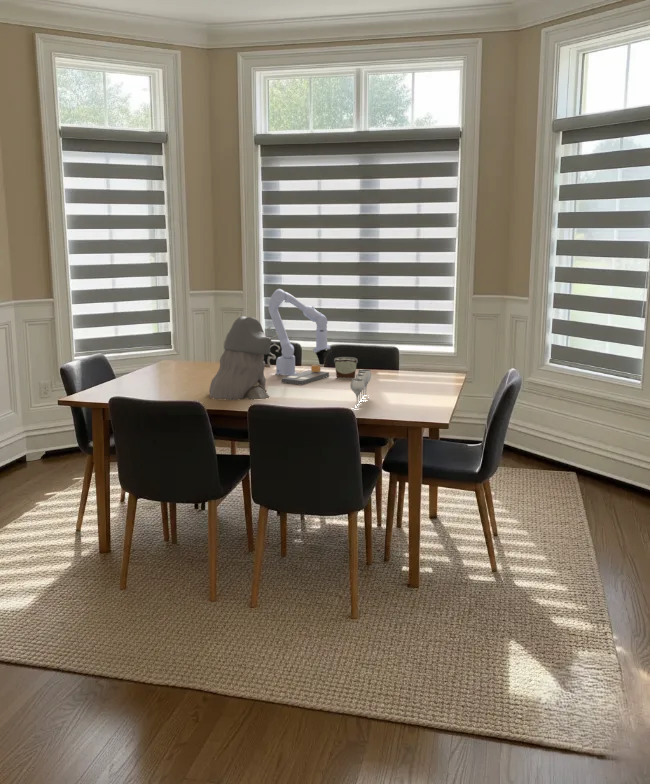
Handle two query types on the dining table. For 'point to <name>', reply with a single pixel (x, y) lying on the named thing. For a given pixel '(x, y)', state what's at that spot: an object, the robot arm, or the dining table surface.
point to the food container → (345, 367)
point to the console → (304, 377)
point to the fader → (315, 368)
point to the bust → (243, 362)
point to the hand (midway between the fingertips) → (321, 364)
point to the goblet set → (360, 384)
